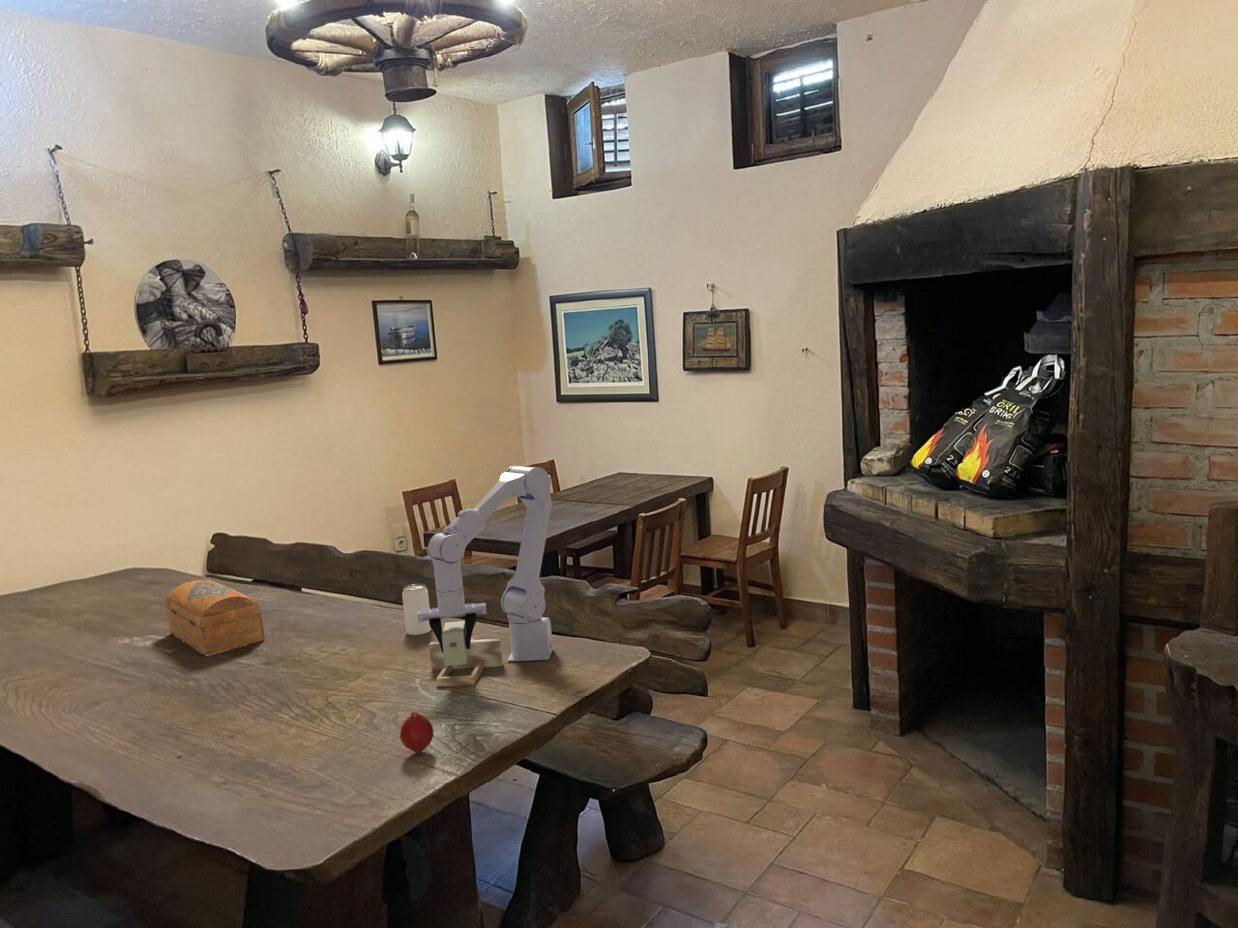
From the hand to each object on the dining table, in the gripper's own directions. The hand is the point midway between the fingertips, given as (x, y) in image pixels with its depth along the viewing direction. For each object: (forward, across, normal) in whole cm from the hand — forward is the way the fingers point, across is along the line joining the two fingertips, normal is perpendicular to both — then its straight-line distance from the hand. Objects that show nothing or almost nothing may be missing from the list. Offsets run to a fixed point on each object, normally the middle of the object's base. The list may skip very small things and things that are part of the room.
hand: (455, 649), depth 196 cm
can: (+7, +9, -39) cm, 41 cm away
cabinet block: (+2, 0, 0) cm, 2 cm away
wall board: (+7, -1, -3) cm, 8 cm away
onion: (+7, +8, +34) cm, 35 cm away
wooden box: (+7, +61, -59) cm, 85 cm away
